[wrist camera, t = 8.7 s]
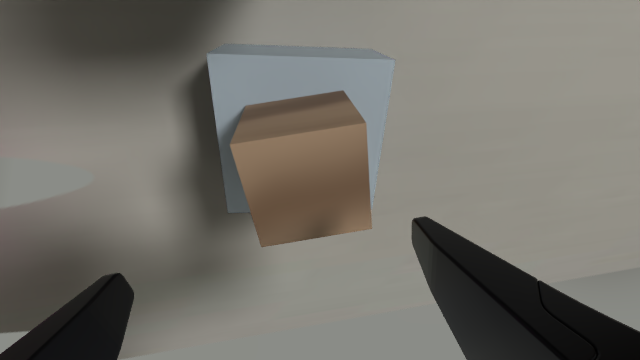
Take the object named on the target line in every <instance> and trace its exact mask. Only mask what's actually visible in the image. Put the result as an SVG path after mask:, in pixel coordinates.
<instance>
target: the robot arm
mask: <svg viewBox="0 0 640 360" xmlns="http://www.w3.org/2000/svg"><path fill="white" fill-rule="evenodd" d="M412 244H413V247H414V250H415V252H416V255H417V257H418V260H419V263H420V265H421V268H422V270H423V273H424V275H425V278H426V281H427V283H428V286H429V288H430V290H431V292H432V294H433V296H434V298H435V300H436V302H437V304H438V306H439V308H440V310H441V312H442V314H443V316H444V317H445V319H446V321H447V323H448V325H449V327H450V329H451V331H452V333H453V335H454V336H455V338H456V340H457V342H458V344H459V346H460V348H461V350H462V352H463V354H464V355H465V357H466V359H467V360H640V332H639V331H637V330H635V329H633V328H631V327H629V326H627V325H625V324H623V323H621V322H619V321H616V320H614V319H612V318H610V317H608V316H606V315H604V314H602V313H600V312H598V311H596V310H594V309H592V308H590V307H588V306H586V305H584V304H582V303H580V302H578V301H577V300H575V299H573V298H571V297H569V296H567V295H565V294H564V293H562V292H560V291H558V290H556V289H554V288H553V287H551V286H549V285H547V284H546V283H544V282H542V281H537V279H536V278H535V277H533V276H531V275H529V274H528V273H526V272H524V271H522V270H520V269H519V268H517V267H515V266H513V265H512V264H510V263H508V262H506V261H505V260H503V259H501V258H499V257H497V256H496V255H494V254H492V253H490V252H489V251H487V250H485V249H483V248H481V247H480V246H478V245H476V244H474V243H473V242H471V241H469V240H467V239H465V238H464V237H462V236H460V235H458V234H457V233H455V232H453V231H451V230H449V229H448V228H446V227H444V226H442V225H441V224H439V223H437V222H435V221H433V220H432V219H430V218H428V217H419V218H414V219H413V220H412ZM133 300H134V292H133V289H132V288H131V286H130V285H129V284H128V282H127V281H126V279H125V278H124V276H123V275H122V274H120V273H113V274H108V275H105V276H103V277H101V278H100V279H99V280H97V281H96V282H95V283H93V284H92V285H91V286H89V287H88V288H87V289H85V290H84V291H83V292H81V293H80V294H79V295H78V296H76V297H75V298H74V299H72V300H71V301H70V302H68V303H67V304H66V305H64V306H63V307H62V308H60V309H59V310H58V311H56V312H55V313H54V314H52V315H51V316H50V317H48V318H47V319H46V320H45V321H43V322H42V323H41V324H39V325H38V326H37V327H35V328H34V329H33V330H31V331H30V332H29V333H27V334H26V335H25V336H23V337H22V338H21V339H19V340H18V341H17V342H15V343H14V344H13V345H12V346H11V347H9V348H8V349H6V350H5V351H4V352H2V353H1V354H0V360H117V358H118V355H119V352H120V349H121V346H122V342H123V339H124V335H125V331H126V327H127V323H128V319H129V315H130V311H131V307H132V304H133Z"/></svg>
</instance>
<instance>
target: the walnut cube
mask: <svg viewBox="0 0 640 360" xmlns="http://www.w3.org/2000/svg"><path fill="white" fill-rule="evenodd" d="M230 147H231V150H232V154H233V157H234V160H235V163H236V167H237V170H238V173H239V176H240V180H241V183H242V186H243V189H244V192H245V196H246V199H247V202H248V205H249V209H250V212H251V215H252V218H253V222H254V225H255V228H256V231H257V235H258V238H259V241H260V244H261V247H266V246H272V245H278V244H284V243H290V242H296V241H302V240H308V239H314V238H320V237H325V236H331V235H337V234H343V233H349V232H355V231H361V230H367V229H372V221H371V202H370V183H369V163H368V144H367V125H366V122H365V120H364V119H363V117H362V116H361V114H360V113H359V112H358V110H357V109H356V107H355V106H354V105H353V103H352V102H351V100H350V99H349V98H348V96H347V95H346V93H345V92H344V91H343V90H342V91H335V92H329V93H323V94H316V95H310V96H304V97H297V98H291V99H284V100H278V101H272V102H265V103H259V104H253V105H246V106H245V109H244V111H243V114H242V116H241V118H240V121H239V123H238V126H237V128H236V131H235V133H234V135H233V138H232V140H231V143H230Z"/></svg>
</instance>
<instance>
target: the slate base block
mask: <svg viewBox="0 0 640 360" xmlns="http://www.w3.org/2000/svg"><path fill="white" fill-rule="evenodd" d="M207 62H208V69H209V77H210V84H211V92H212V99H213V106H214V114H215V121H216V129H217V136H218V144H219V151H220V158H221V166H222V173H223V181H224V188H225V196H226V203H227V211H228V213H249V212H250V209H249V205H248V202H247V199H246V196H245V192H244V189H243V186H242V183H241V180H240V176H239V173H238V170H237V167H236V163H235V160H234V157H233V154H232V150H231V147H230V143H231V140H232V138H233V135H234V133H235V131H236V128H237V126H238V123H239V121H240V118H241V116H242V114H243V111H244V109H245V106H246V105H253V104H259V103H265V102H272V101H278V100H284V99H291V98H297V97H304V96H310V95H316V94H323V93H329V92H335V91H342V90H343V91H344V92H345V93H346V95H347V96H348V98H349V99H350V100H351V102H352V103H353V105H354V106H355V107H356V109H357V110H358V112H359V113H360V114H361V116H362V117H363V119H364V120H365V122H366V125H367V144H368V163H369V183H370V202H371V210H372V206H373V199H374V193H375V186H376V180H377V174H378V167H379V161H380V155H381V148H382V142H383V135H384V129H385V123H386V116H387V110H388V104H389V97H390V91H391V84H392V78H393V72H394V65H395V59H392V58H390V57H388V56H386V55H384V54H381V53H379V52H377V51H375V50H372V49H357V48H330V47H302V46H275V45H247V44H223V45H221V46H219V47H218V48H216V49H214V50H212V51H210V52H209V53H207Z"/></svg>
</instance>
